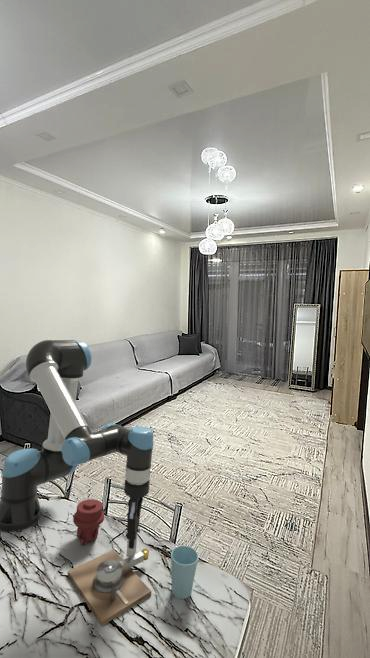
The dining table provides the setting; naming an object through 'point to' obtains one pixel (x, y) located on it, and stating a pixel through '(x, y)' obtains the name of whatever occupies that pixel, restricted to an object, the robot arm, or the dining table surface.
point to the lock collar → (117, 569)
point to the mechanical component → (88, 519)
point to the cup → (183, 570)
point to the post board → (108, 589)
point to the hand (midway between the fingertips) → (131, 555)
